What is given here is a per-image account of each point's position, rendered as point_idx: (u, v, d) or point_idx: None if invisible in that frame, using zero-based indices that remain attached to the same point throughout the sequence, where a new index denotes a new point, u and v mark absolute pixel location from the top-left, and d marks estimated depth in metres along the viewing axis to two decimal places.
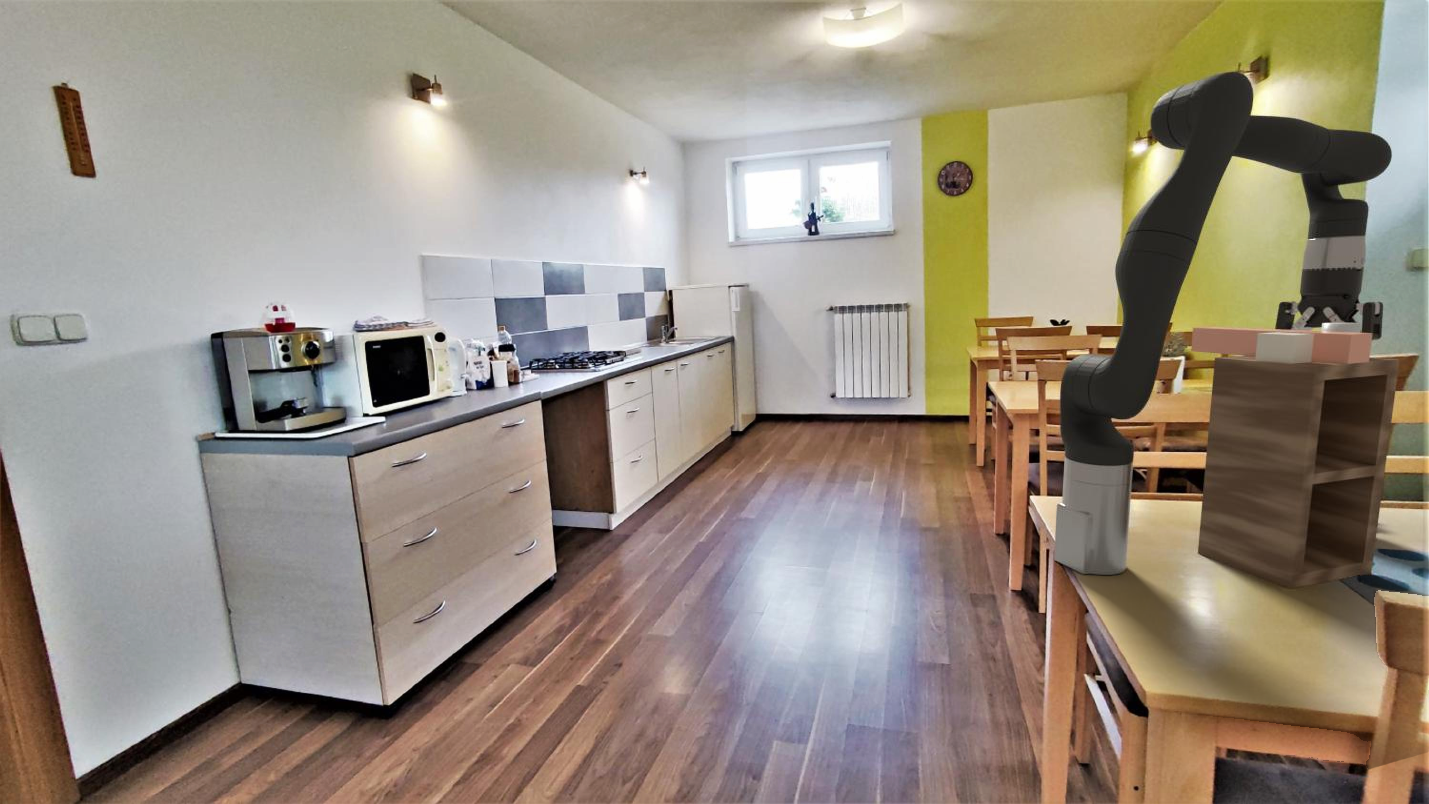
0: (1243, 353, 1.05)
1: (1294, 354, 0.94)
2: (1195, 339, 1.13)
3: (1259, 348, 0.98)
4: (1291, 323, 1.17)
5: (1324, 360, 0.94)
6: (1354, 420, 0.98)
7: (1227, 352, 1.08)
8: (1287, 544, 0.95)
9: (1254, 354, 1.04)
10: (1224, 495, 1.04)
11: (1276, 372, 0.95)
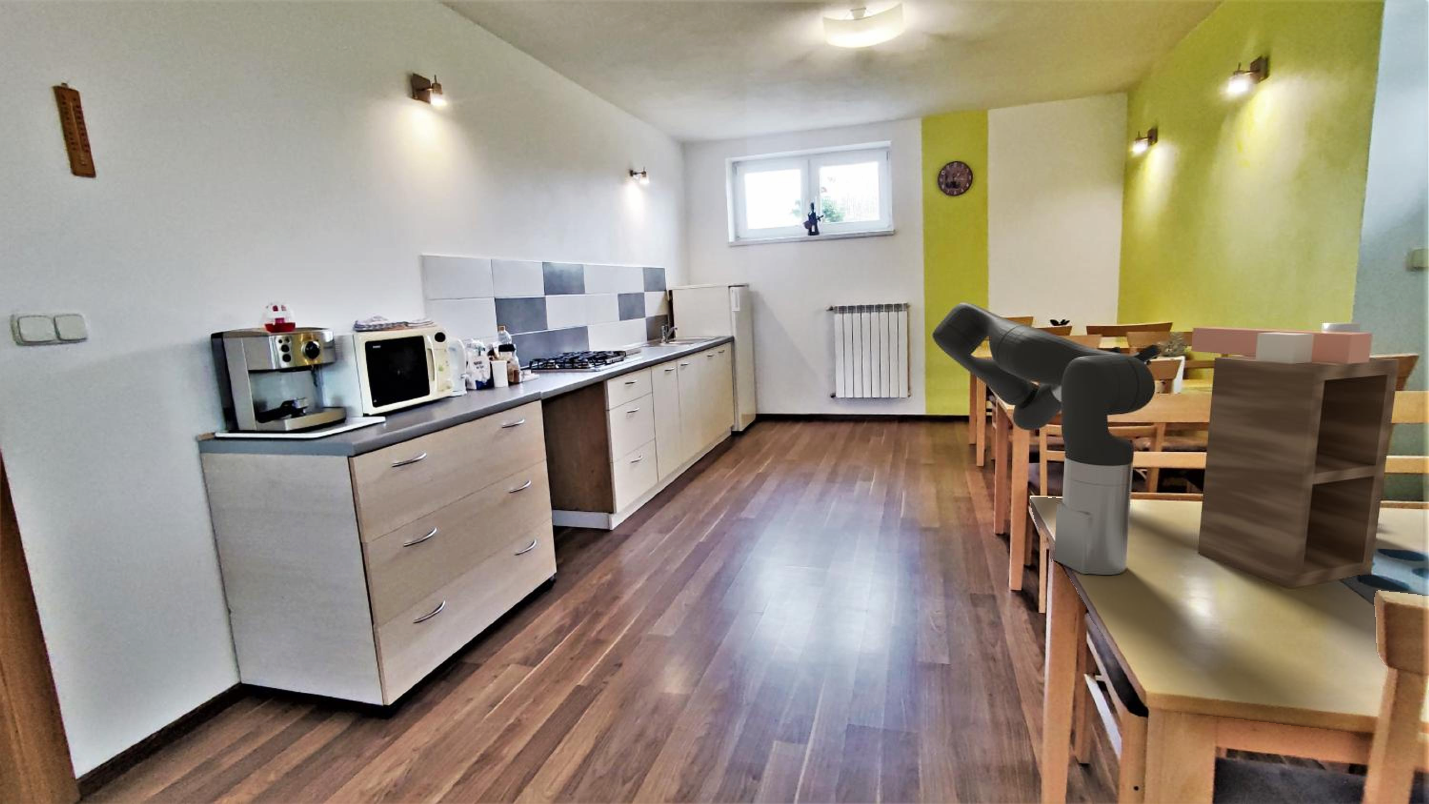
0: (1243, 353, 1.05)
1: (1294, 354, 0.94)
2: (1195, 339, 1.13)
3: (1259, 348, 0.98)
4: None
5: (1324, 360, 0.94)
6: (1354, 420, 0.98)
7: (1227, 352, 1.08)
8: (1287, 544, 0.95)
9: (1254, 354, 1.04)
10: (1224, 495, 1.04)
11: (1276, 372, 0.95)
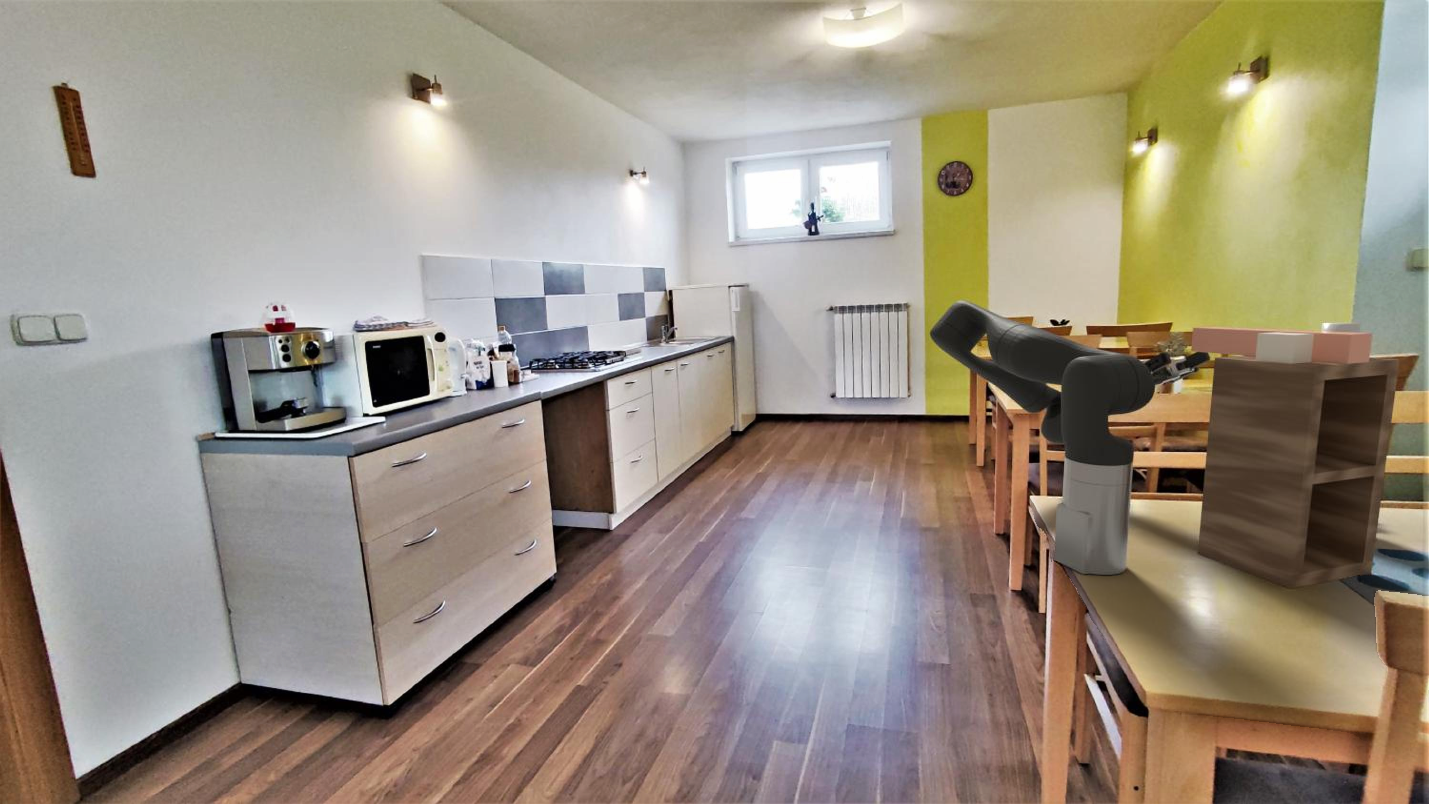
0: (1243, 353, 1.05)
1: (1294, 354, 0.94)
2: (1195, 339, 1.13)
3: (1259, 348, 0.98)
4: None
5: (1324, 360, 0.94)
6: (1354, 420, 0.98)
7: (1227, 352, 1.08)
8: (1287, 544, 0.95)
9: (1254, 354, 1.04)
10: (1224, 495, 1.04)
11: (1276, 372, 0.95)
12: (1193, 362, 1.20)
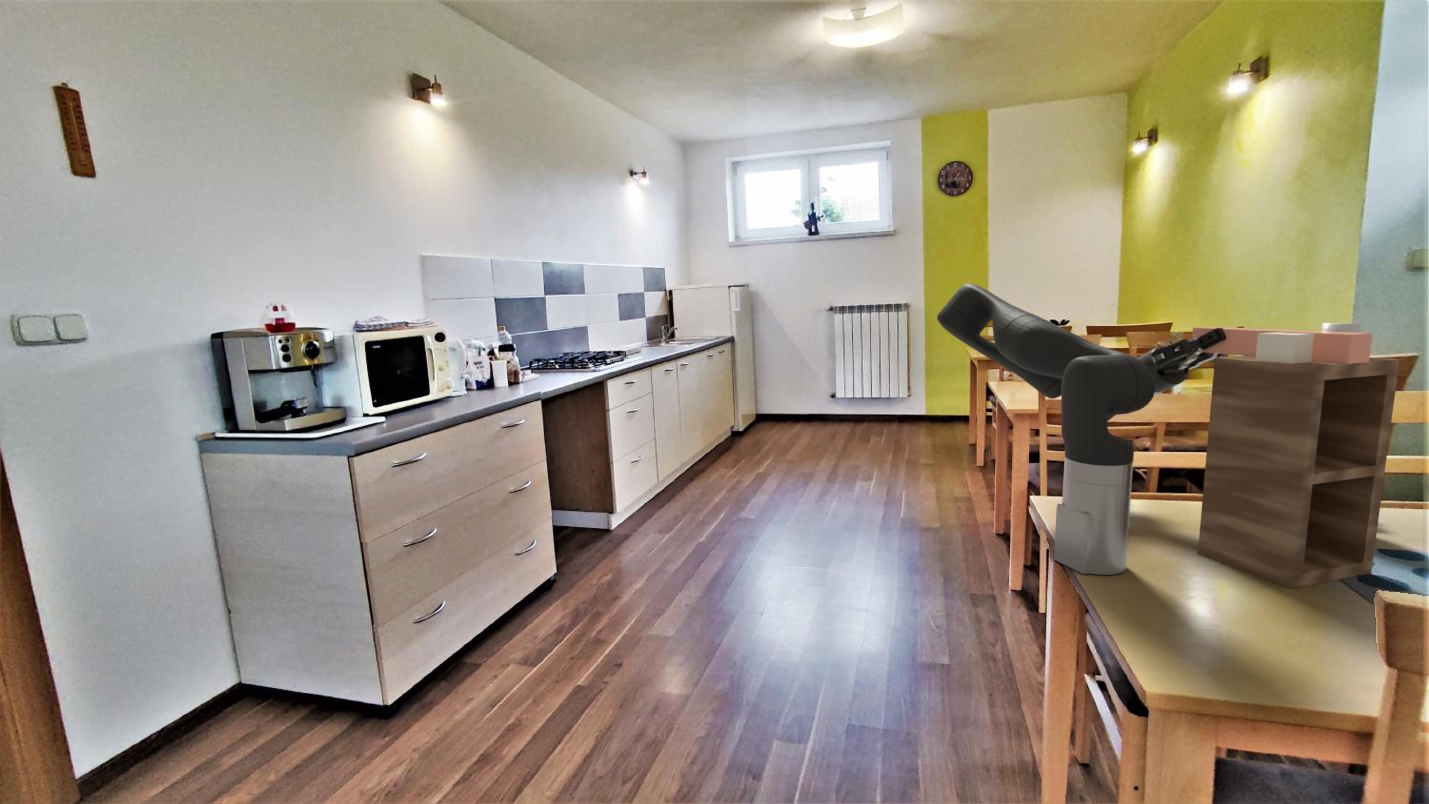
0: (1243, 353, 1.05)
1: (1294, 354, 0.94)
2: None
3: (1259, 348, 0.98)
4: None
5: (1324, 360, 0.94)
6: (1354, 420, 0.98)
7: (1227, 352, 1.08)
8: (1287, 544, 0.95)
9: (1254, 354, 1.04)
10: (1224, 495, 1.04)
11: (1276, 372, 0.95)
12: None
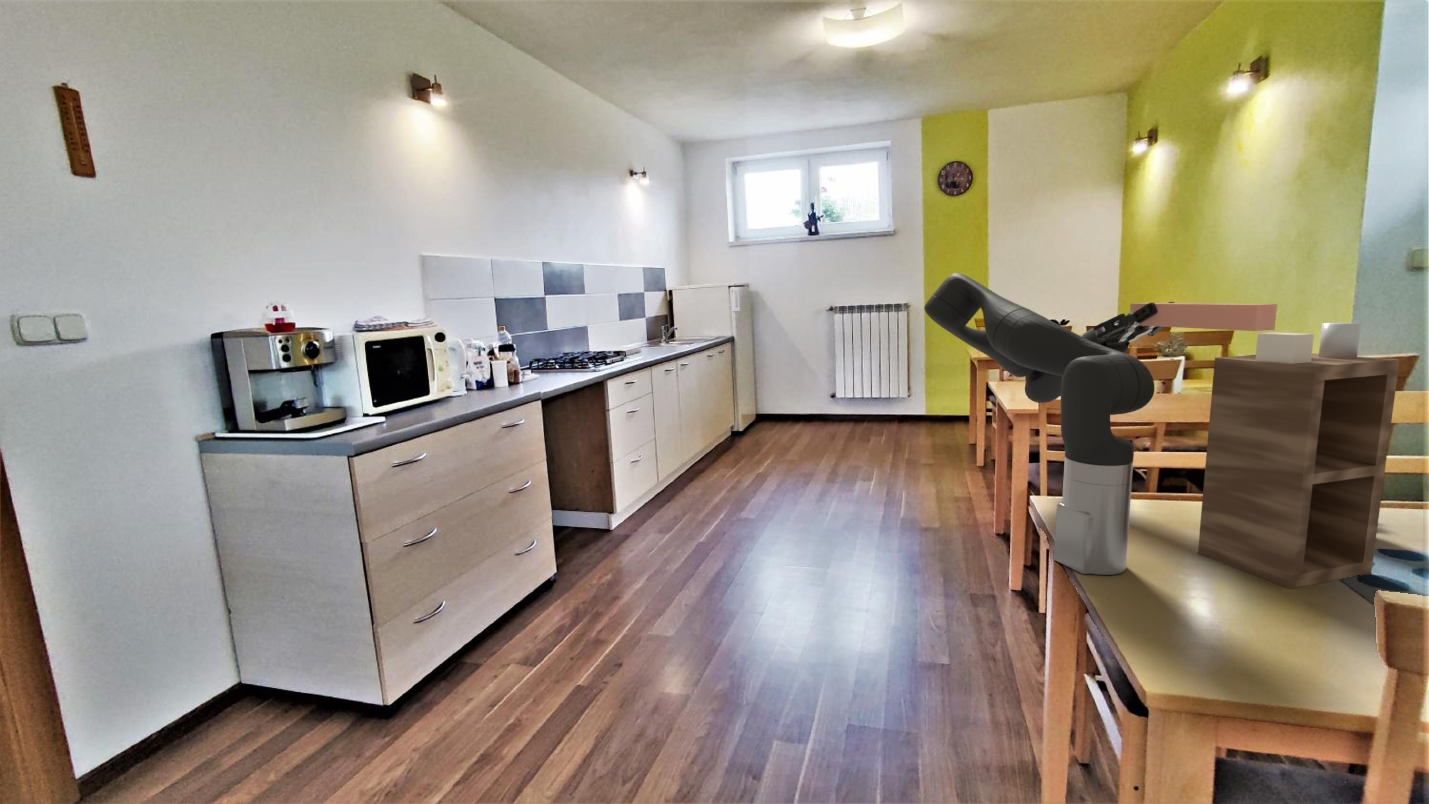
0: (1171, 325, 1.17)
1: (1294, 354, 0.94)
2: None
3: (1259, 348, 0.98)
4: None
5: (1236, 328, 1.06)
6: (1354, 420, 0.98)
7: (1158, 324, 1.19)
8: (1287, 544, 0.95)
9: (1180, 325, 1.15)
10: (1224, 495, 1.04)
11: (1276, 372, 0.95)
12: None
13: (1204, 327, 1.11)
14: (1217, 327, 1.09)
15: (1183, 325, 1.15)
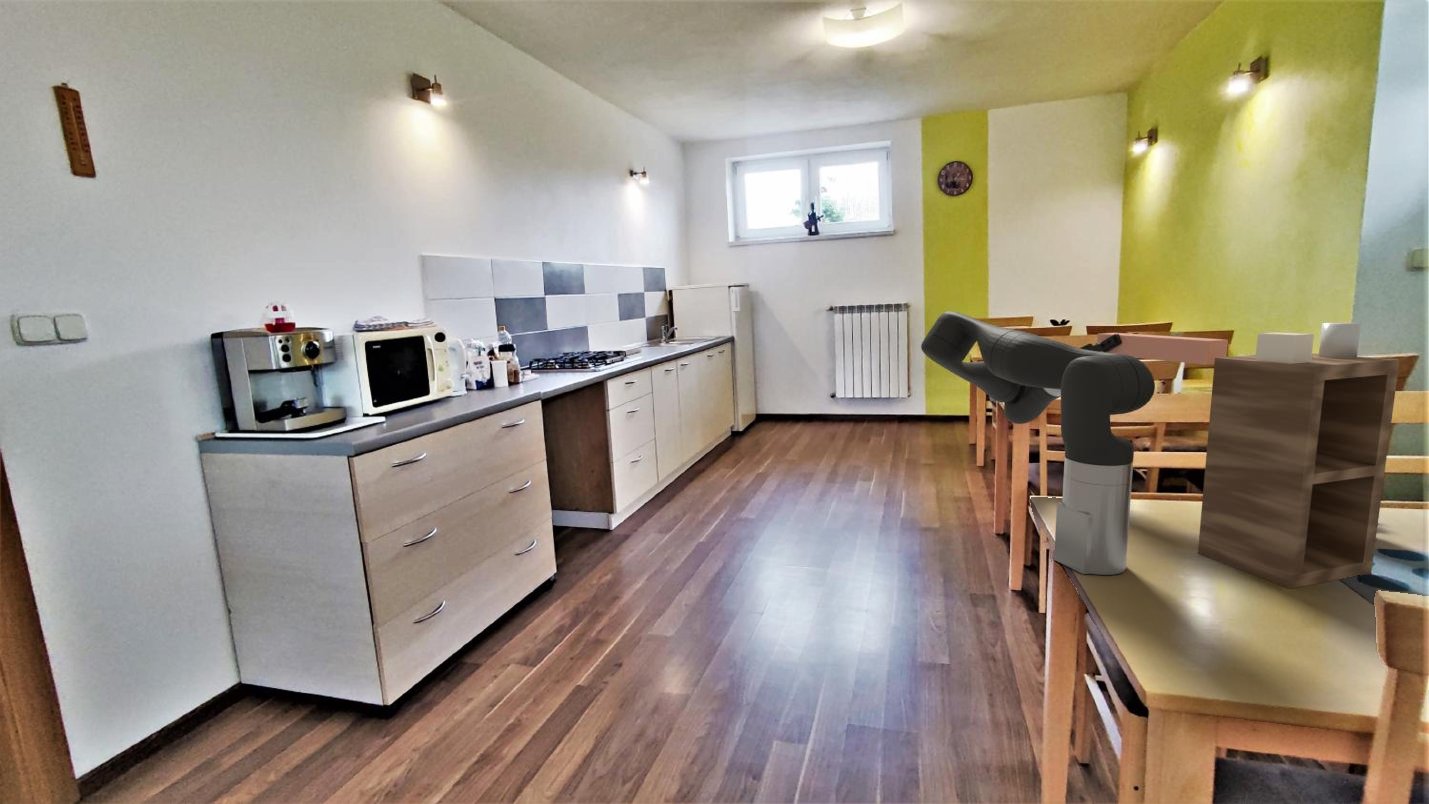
0: (1134, 355, 1.25)
1: (1294, 354, 0.94)
2: None
3: (1259, 348, 0.98)
4: None
5: (1191, 362, 1.14)
6: (1354, 420, 0.98)
7: None
8: (1287, 544, 0.95)
9: (1142, 356, 1.23)
10: (1224, 495, 1.04)
11: (1276, 372, 0.95)
12: None
13: (1163, 359, 1.19)
14: (1174, 359, 1.17)
15: (1144, 356, 1.23)
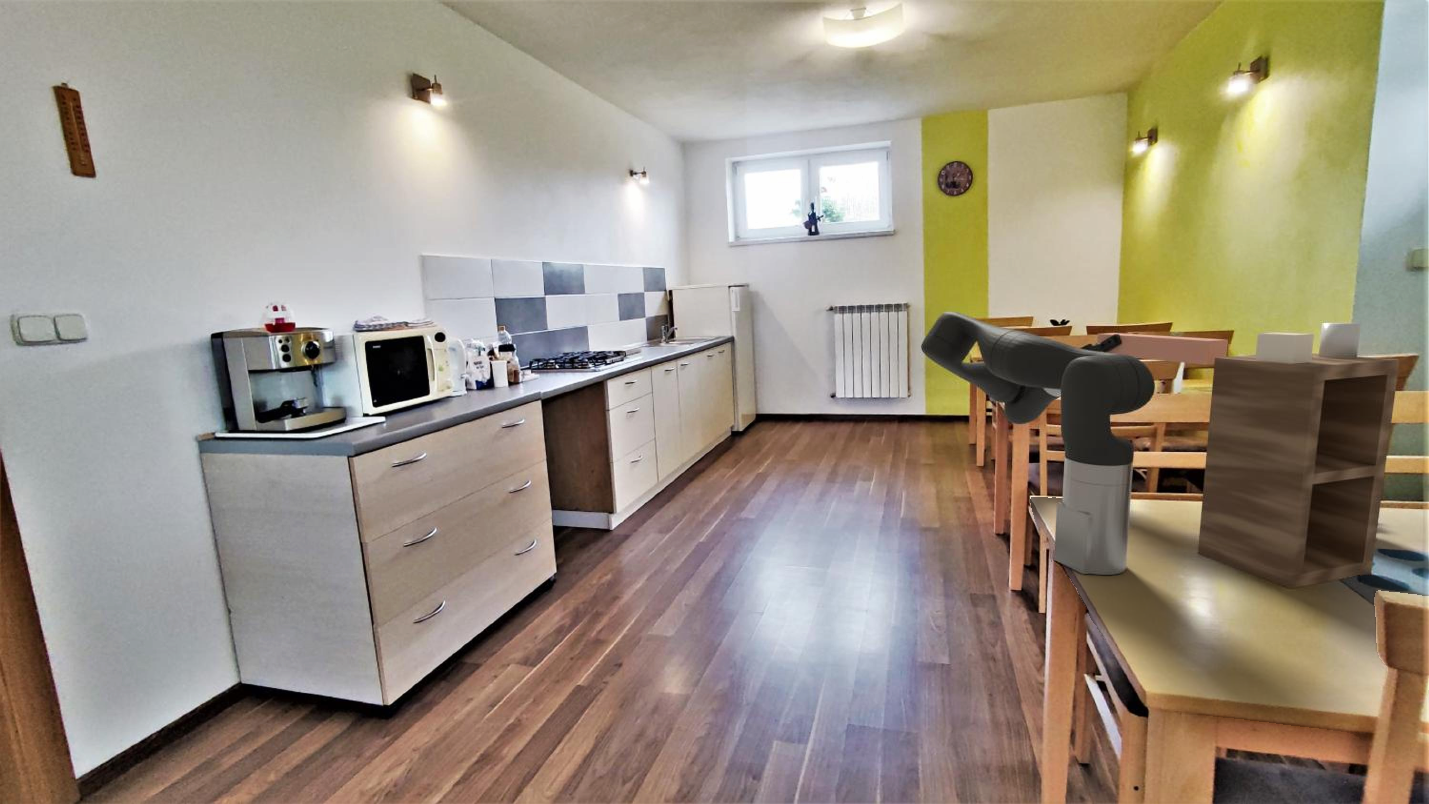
0: (1134, 356, 1.25)
1: (1294, 354, 0.94)
2: None
3: (1259, 348, 0.98)
4: None
5: (1191, 362, 1.14)
6: (1354, 420, 0.98)
7: None
8: (1287, 544, 0.95)
9: (1142, 356, 1.23)
10: (1224, 495, 1.04)
11: (1276, 372, 0.95)
12: None
13: (1163, 359, 1.19)
14: (1174, 360, 1.17)
15: (1144, 357, 1.23)
